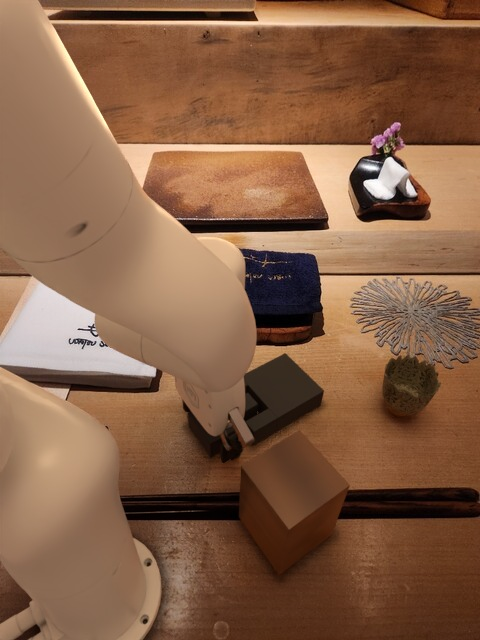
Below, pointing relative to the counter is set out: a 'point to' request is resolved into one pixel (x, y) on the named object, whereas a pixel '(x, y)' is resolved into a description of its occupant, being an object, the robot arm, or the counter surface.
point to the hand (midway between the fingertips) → (211, 430)
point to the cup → (408, 385)
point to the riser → (290, 500)
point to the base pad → (280, 395)
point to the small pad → (213, 442)
